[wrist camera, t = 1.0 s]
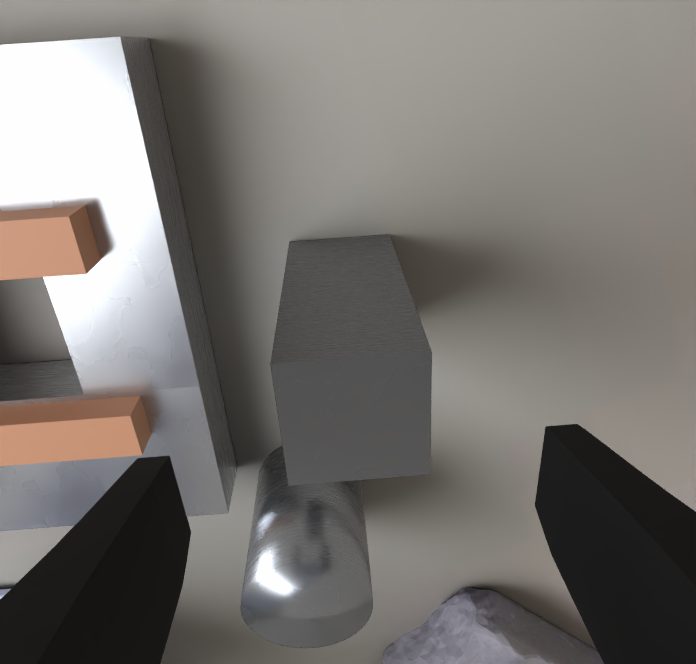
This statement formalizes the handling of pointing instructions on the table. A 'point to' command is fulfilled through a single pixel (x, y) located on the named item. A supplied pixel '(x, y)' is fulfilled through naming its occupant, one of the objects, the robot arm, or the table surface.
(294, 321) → the grey rectangular box
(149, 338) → the silver base plate
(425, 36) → the table surface
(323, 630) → the stub post
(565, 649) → the stone block
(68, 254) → the bracket
